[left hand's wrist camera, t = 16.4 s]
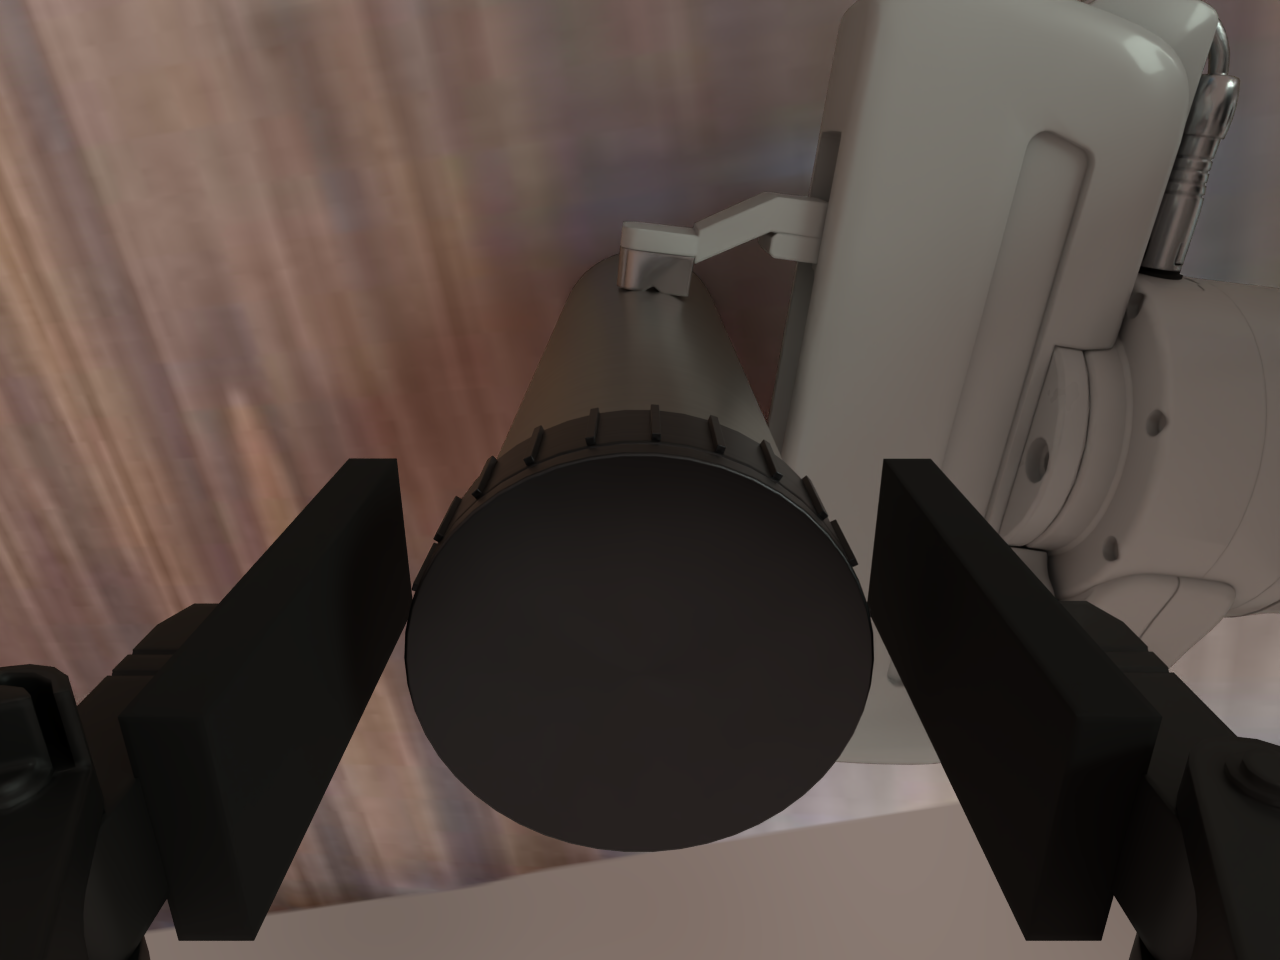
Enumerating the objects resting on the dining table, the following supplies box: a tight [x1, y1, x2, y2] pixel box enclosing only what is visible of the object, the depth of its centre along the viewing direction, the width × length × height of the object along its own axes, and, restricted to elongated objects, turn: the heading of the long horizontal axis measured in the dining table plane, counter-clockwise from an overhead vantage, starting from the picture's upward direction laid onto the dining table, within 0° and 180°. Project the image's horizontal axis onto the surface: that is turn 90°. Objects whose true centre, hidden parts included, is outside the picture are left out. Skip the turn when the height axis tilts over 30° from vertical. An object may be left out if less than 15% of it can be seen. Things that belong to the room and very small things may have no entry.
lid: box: [404, 404, 874, 852], centre depth 11 cm, size 6×6×2 cm
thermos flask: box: [497, 254, 782, 460], centre depth 20 cm, size 5×5×19 cm
